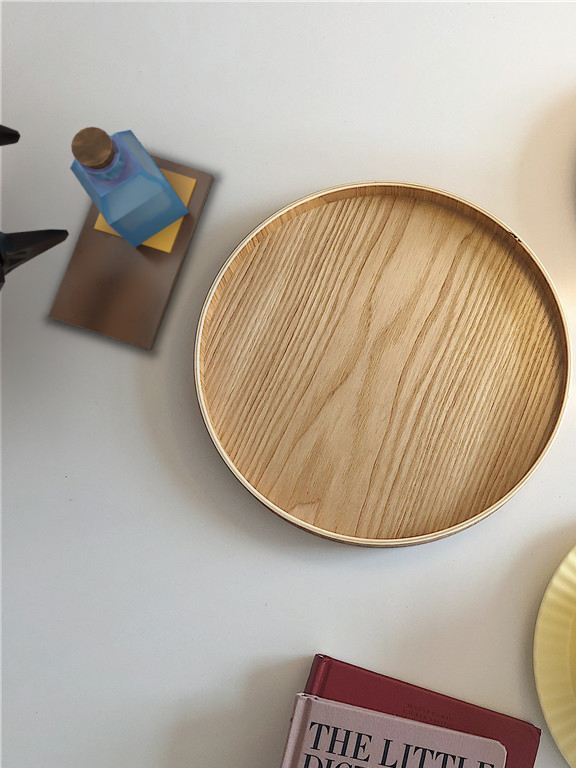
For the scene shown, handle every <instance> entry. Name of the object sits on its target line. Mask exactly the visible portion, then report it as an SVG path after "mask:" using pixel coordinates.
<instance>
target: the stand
mask: <svg viewBox="0 0 576 768" xmlns="http://www.w3.org/2000/svg"><path fill="white" fill-rule="evenodd" d="M149 155H150V156H151V157H152V159H153V160H154V161H155V163H156V164H157V166H158V167H159V169H160V170H161V172H162V173H163V174H164V176H165V177H166V179H167V180H168V182H169V183H170V185H171V186H172V188H173V189H174V190H175V192H176V193H177V195H178V196H179V198H180V199H181V201H182V202H183V203H184V205H185V206H186V208H187V209H188V211H189V213H188V214H186V215H185V216H183V217H181V218H180V219H178V220H177V221H175V222H174V223H172V224H171V225H169V226H168V227H166V228H165V229H163V230H161V231H160V232H158V233H157V234H155V235H154V236H152V237H151V238H149V239H148V240H146V241H145V242H143V243H141V244H140V245H138V246H137V247H135V248H134V247H133V246H132V245H131V244H130V243H129V242H127V241H126V240H125V239H124V238H123V237H122V236H121V235H119V234H118V233H117V232H116V231H115V230H114V229H113V228H111V227H110V226H109V225H108V223H107V222H106V220H105V219H104V217H103V216H102V214H101V213H100V211H99V210H98V209H97V207H96V206H95V204H94V203H93V201H92V203H91V204H90V206H89V210H88V213H87V215H86V217H85V220H84V222H83V226H82V228H81V231H80V233H79V236H78V239H77V241H76V244H75V247H74V249H73V251H72V255H71V257H70V259H69V262H68V265H67V267H66V270H65V273H64V276H63V278H62V281H61V283H60V285H59V288H58V291H57V294H56V297H55V299H54V301H53V305H52V306H51V309H50V312H49V315H48V318H50V319H52V320H56V321H58V322H62V323H65V324H68V325H70V326H71V325H72V326H75V327H78V328H81V329H84V330H87V331H90V332H93V333H96V334H99V335H102V336H105V337H108V338H110V339H111V338H112V339H115V340H118V341H121V342H124V343H127V344H130V345H134V346H136V347H140V348H142V349H146V350H147V351H148V350H149V351H151V350H152V348H153V345H154V343H155V340H156V338H157V335H158V331H159V330H160V329H159V328H160V326H161V324H162V321H163V318H164V315H165V312H166V309H167V307H168V304H169V301H170V298H171V296H172V293H173V290H174V287H175V285H176V282H177V279H178V276H179V274H180V271H181V270H182V269H181V268H182V265H183V263H184V260H185V257H186V254H187V252H188V248H189V247H190V243H191V241H192V239H193V235H194V232H195V230H196V227H197V225H198V221H199V219H200V216H201V213H202V211H203V208H204V205H205V202H206V200H207V197H208V194H209V191H210V189H211V186H212V184H213V180H214V179H215V178H214V175H213V174H211V173H208V172H205V171H201V170H199V169H195V168H192V167H189V166H187V165H183V164H180V163H177V162H173V161H170V160H168V159H165V158H161V157H158V156H155V155H152V154H149Z"/></svg>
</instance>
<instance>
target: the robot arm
mask: <svg viewBox="0 0 576 768" xmlns="http://www.w3.org/2000/svg"><path fill="white" fill-rule="evenodd" d="M20 139H21V134H20V132H19V131H18V130H16V129H14V128H11V127H8V126H6V125H4V124H1V123H0V147H4V146H5V147H6V146H10V145H16V144H17V143H19V141H20ZM69 235H70V234H69V231H68V230H67V229H62V228H61V229H60V228H59V229H58V228H48V229H36V230H27V231H15V232H4V231H1V230H0V292H1V291H2V289H3V287H4V285H5V283H6V276H7V275H8V274H10V273H11V272H12V271H14V270H16V269H17V268H19V267H20V266H22V265H24V264H26V263H27V262H29V261H31V260H33V259H35V258H36V257H38V256H40V255H42V254H43V253H46V252H47V251H49V250H51V249H53V248H55V247H56V246H58V245H60V244H61V243H63V242H65V241H66V240H67V239H68V237H69Z"/></svg>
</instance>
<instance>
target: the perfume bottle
mask: <svg viewBox="0 0 576 768" xmlns="http://www.w3.org/2000/svg"><path fill="white" fill-rule="evenodd" d="M134 133H135V132H133V131H132V129H126V130H123V131H122V130H121V131H117V132H114V133H113V134H111V135H109V133H107V132H106V131H105V130H104V129H102V128H101V127H97V126H88V127H84V128H82V129H80V130H79V131H78V132H77V133H75V135H74V136H73V138H72V140H71V145H70V148H71V153H72V155H73V158H74V159H73V162H72V163H71V165H70V167H69V169H70V170H71V172H72V173H73V175H74V176H75V178H76V179H77V180H78V182H79V183H80V185H81V187H82V188H83V190H84V191H85V192H86V194H87V195H88V197H89V199H90V200H91V201H92V202H93V203H94V204H95V206H96V207H97V209H98V210H99V211H100V213H101V214H102V216H103V217H104V219H105V220H106V222H107V223H108V225H109V226H110V227H111V228H113V229H114V230H115V231H116V232H117V233H118V234H119V235H121V236H122V237H123V238H124V239H125V240H126V241H127V242H129V243H130V244H131V245H132V246H133V247H134V248H135V247H137V246H138V245H140V244H141V243H143V242H145V241H146V240H148V239H149V238H151V237H152V236H154V235H155V234H157V233H158V232H160V231H161V230H163V229H165V228H166V227H168V226H169V225H171V224H172V223H174V222H175V221H177V220H178V219H180V218H181V217H183V216H185V215H186V214H188V213H189V211H188V209H187V208H186V206H185V205H184V203H183V202H182V201H181V199H180V198H179V196H178V195H177V193H176V192H175V190H174V189H173V188H172V186H171V185H170V183H169V182H168V180H167V179H166V177H165V176H164V174H163V173H162V172H161V170H160V169H159V167H158V166H157V164H156V163H155V161H154V160H153V159H152V157H151V156H150V155H151V154H150V153H149V152H148V151H147V149H146V148H145V147H144V145H143V144H142V143H141V141H140V139H138V138H137V136H136V135H135V134H134Z"/></svg>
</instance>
